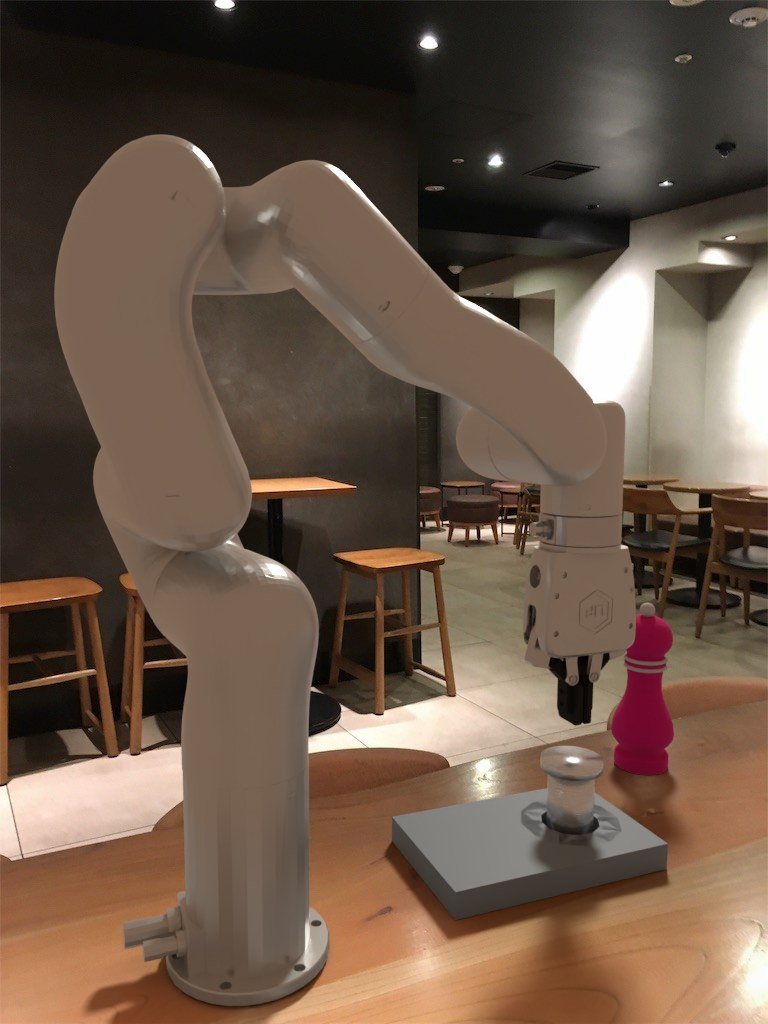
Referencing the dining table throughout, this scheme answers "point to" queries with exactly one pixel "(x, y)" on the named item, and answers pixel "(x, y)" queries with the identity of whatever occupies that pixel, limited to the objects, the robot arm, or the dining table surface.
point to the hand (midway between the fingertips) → (574, 719)
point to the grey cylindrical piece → (571, 787)
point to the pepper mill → (644, 699)
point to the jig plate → (520, 852)
